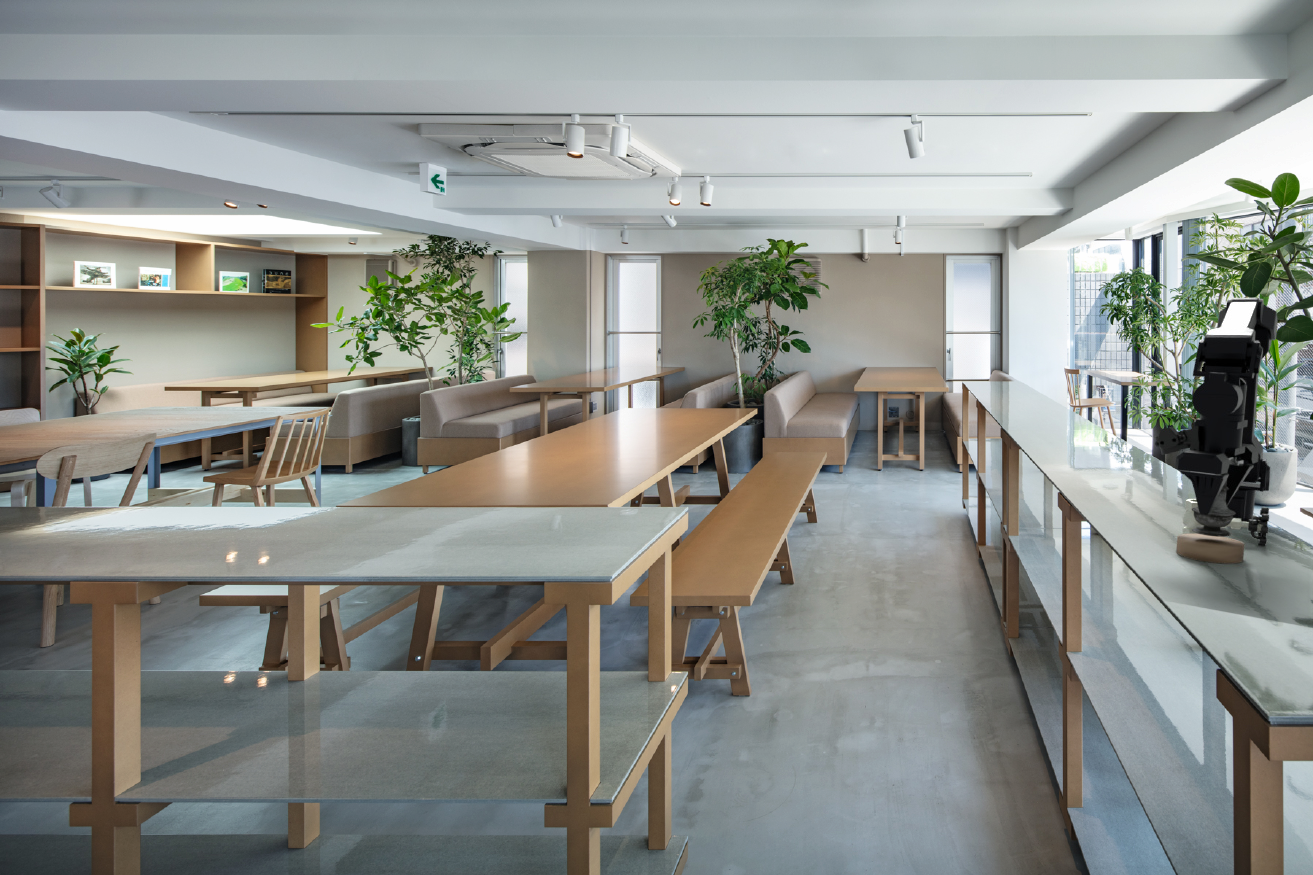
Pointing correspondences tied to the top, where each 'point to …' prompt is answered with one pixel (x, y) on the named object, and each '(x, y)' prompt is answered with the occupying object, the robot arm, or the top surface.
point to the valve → (1253, 524)
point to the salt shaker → (1215, 517)
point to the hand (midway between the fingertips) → (1213, 510)
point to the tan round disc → (1210, 548)
